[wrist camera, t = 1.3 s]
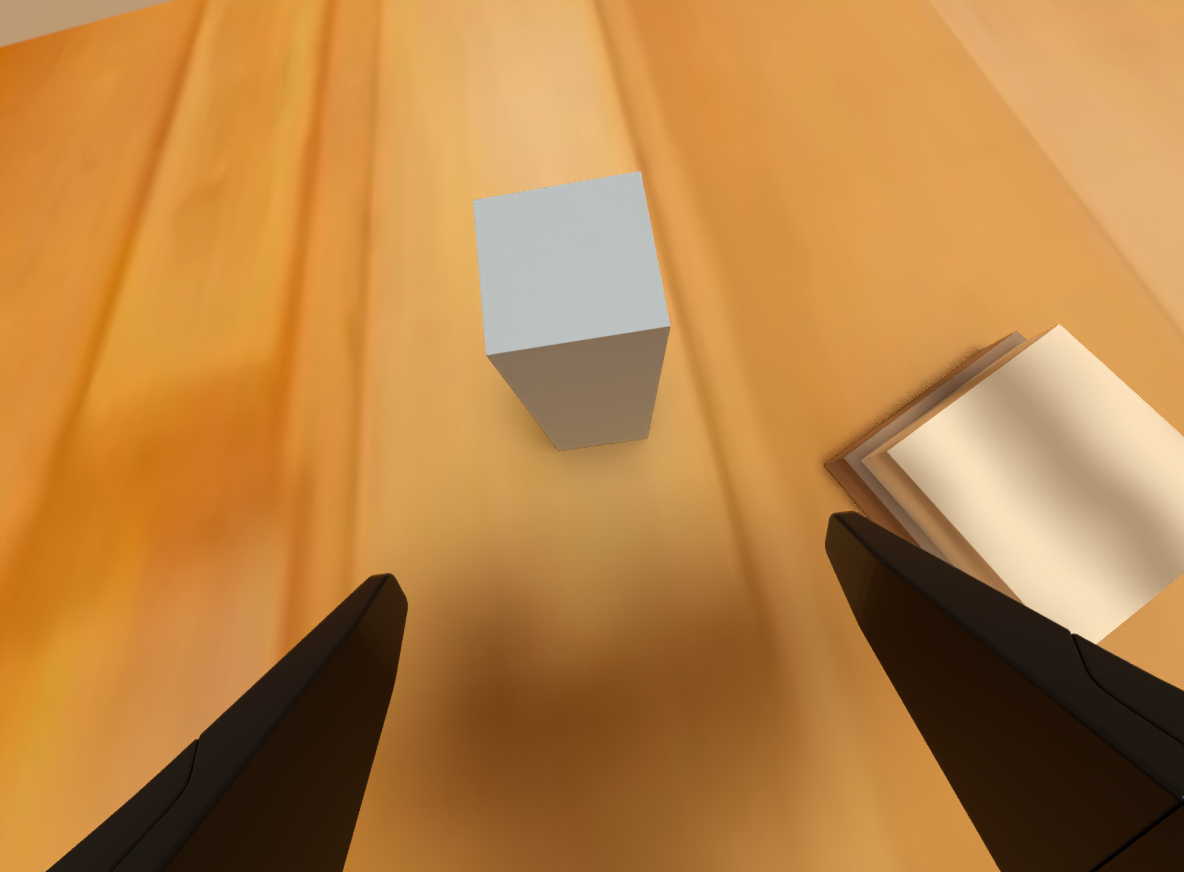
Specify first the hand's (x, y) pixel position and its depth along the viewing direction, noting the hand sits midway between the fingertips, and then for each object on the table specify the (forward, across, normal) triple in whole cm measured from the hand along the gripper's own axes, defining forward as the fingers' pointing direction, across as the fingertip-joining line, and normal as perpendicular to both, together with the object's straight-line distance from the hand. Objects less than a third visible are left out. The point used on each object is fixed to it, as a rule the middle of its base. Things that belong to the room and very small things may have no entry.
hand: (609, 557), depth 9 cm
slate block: (+14, 0, +4) cm, 14 cm away
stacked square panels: (+9, -17, +8) cm, 21 cm away
